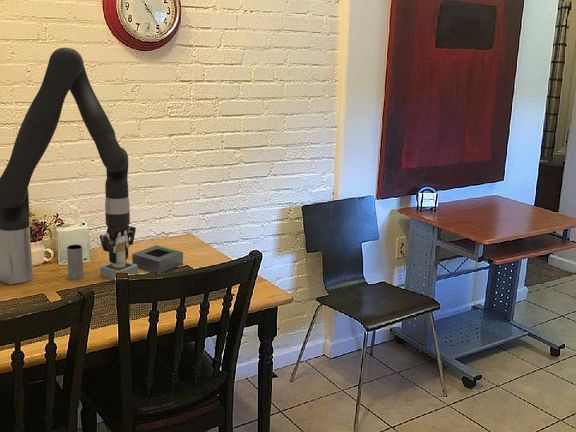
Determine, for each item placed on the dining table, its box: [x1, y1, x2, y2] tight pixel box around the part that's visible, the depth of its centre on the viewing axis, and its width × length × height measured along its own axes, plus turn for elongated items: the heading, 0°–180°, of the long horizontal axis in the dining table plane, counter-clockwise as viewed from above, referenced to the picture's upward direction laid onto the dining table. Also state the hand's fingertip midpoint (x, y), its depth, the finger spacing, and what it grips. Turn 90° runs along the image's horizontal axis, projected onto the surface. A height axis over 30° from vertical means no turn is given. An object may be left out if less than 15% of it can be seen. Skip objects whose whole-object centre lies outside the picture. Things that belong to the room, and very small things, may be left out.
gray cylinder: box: [66, 244, 84, 281], centre depth 205 cm, size 4×4×10 cm
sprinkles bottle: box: [111, 236, 127, 271], centre depth 208 cm, size 5×5×14 cm
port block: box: [131, 244, 184, 274], centre depth 219 cm, size 12×12×5 cm
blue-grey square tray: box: [99, 261, 139, 281], centre depth 209 cm, size 8×8×3 cm
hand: (118, 260), depth 209 cm, fingers closed on sprinkles bottle, 4 cm apart
